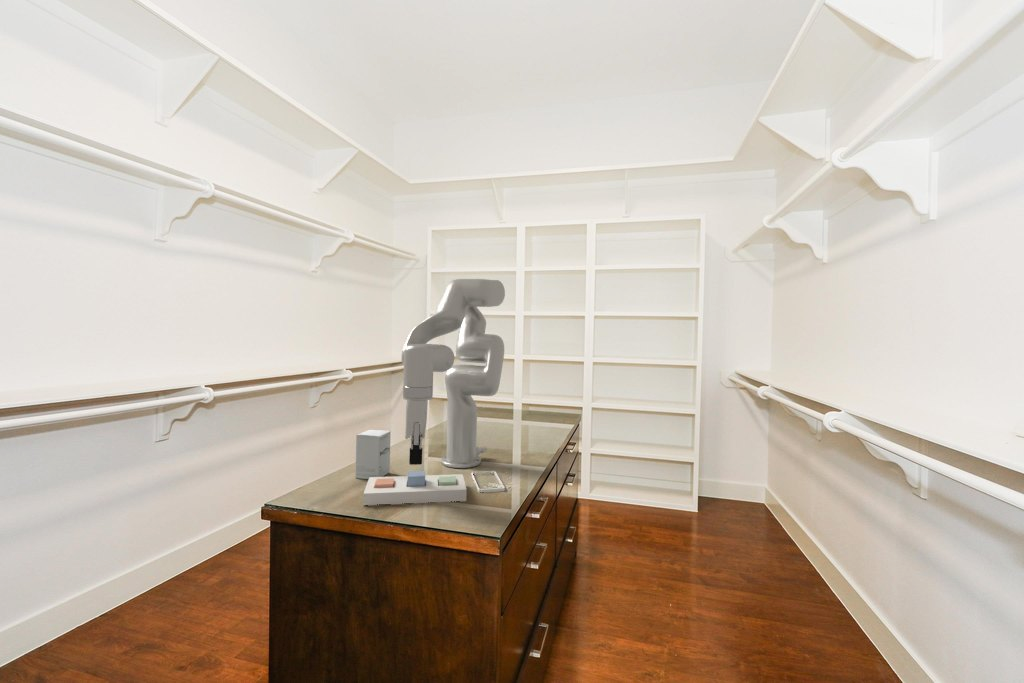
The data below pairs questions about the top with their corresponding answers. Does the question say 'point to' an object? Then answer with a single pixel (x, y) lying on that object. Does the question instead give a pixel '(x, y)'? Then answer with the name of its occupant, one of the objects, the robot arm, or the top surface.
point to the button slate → (416, 478)
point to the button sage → (447, 480)
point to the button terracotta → (384, 483)
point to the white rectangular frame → (491, 488)
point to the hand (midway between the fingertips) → (415, 463)
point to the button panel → (415, 491)
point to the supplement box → (372, 454)
